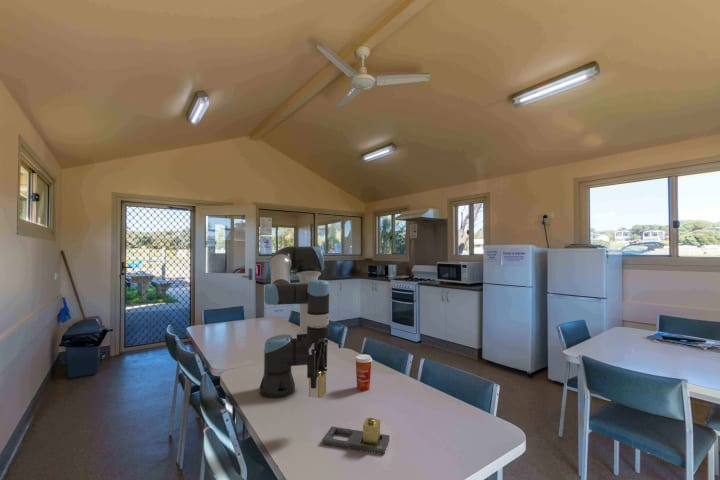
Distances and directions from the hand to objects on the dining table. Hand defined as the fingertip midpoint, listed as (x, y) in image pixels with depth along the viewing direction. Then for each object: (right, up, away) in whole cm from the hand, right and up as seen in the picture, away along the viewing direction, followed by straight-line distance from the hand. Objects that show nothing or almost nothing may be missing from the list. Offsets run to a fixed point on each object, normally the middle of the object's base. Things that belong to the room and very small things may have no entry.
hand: (317, 393), depth 116 cm
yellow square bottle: (0, 0, 0) cm, 0 cm away
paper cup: (+16, -14, +35) cm, 41 cm away
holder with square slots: (+14, -12, -7) cm, 20 cm away
